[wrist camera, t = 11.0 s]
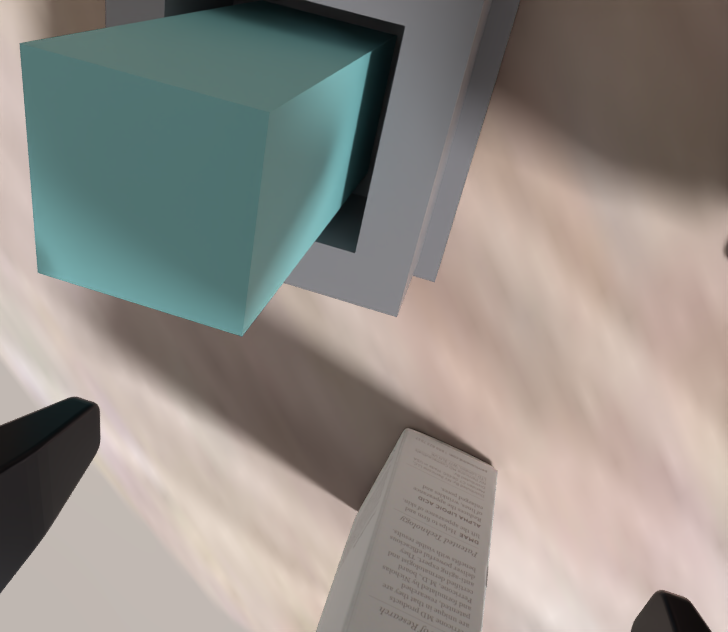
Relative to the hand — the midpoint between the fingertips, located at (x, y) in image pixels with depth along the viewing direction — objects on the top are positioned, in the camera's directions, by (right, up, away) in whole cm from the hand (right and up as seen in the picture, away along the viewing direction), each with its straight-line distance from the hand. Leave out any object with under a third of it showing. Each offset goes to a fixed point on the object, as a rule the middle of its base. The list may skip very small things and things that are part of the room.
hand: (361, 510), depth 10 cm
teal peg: (-1, +10, +9) cm, 13 cm away
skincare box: (+3, -4, +17) cm, 18 cm away
